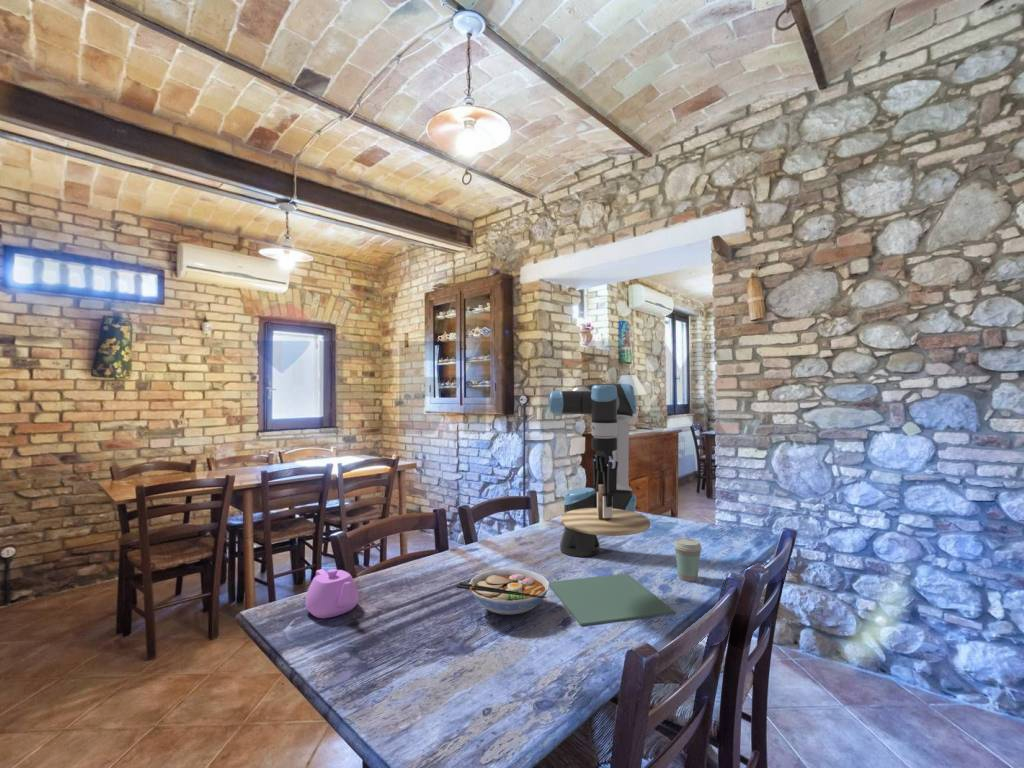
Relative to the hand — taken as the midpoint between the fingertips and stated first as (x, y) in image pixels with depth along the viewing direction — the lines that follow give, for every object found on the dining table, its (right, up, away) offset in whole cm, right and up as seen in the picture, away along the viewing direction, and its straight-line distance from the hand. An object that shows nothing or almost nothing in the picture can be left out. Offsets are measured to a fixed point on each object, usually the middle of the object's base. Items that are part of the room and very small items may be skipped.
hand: (604, 515), depth 145 cm
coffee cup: (+30, -25, +15) cm, 41 cm away
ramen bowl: (-28, -25, -7) cm, 38 cm away
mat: (+1, -24, 0) cm, 25 cm away
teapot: (-78, -25, -7) cm, 82 cm away
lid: (0, -2, 0) cm, 2 cm away
